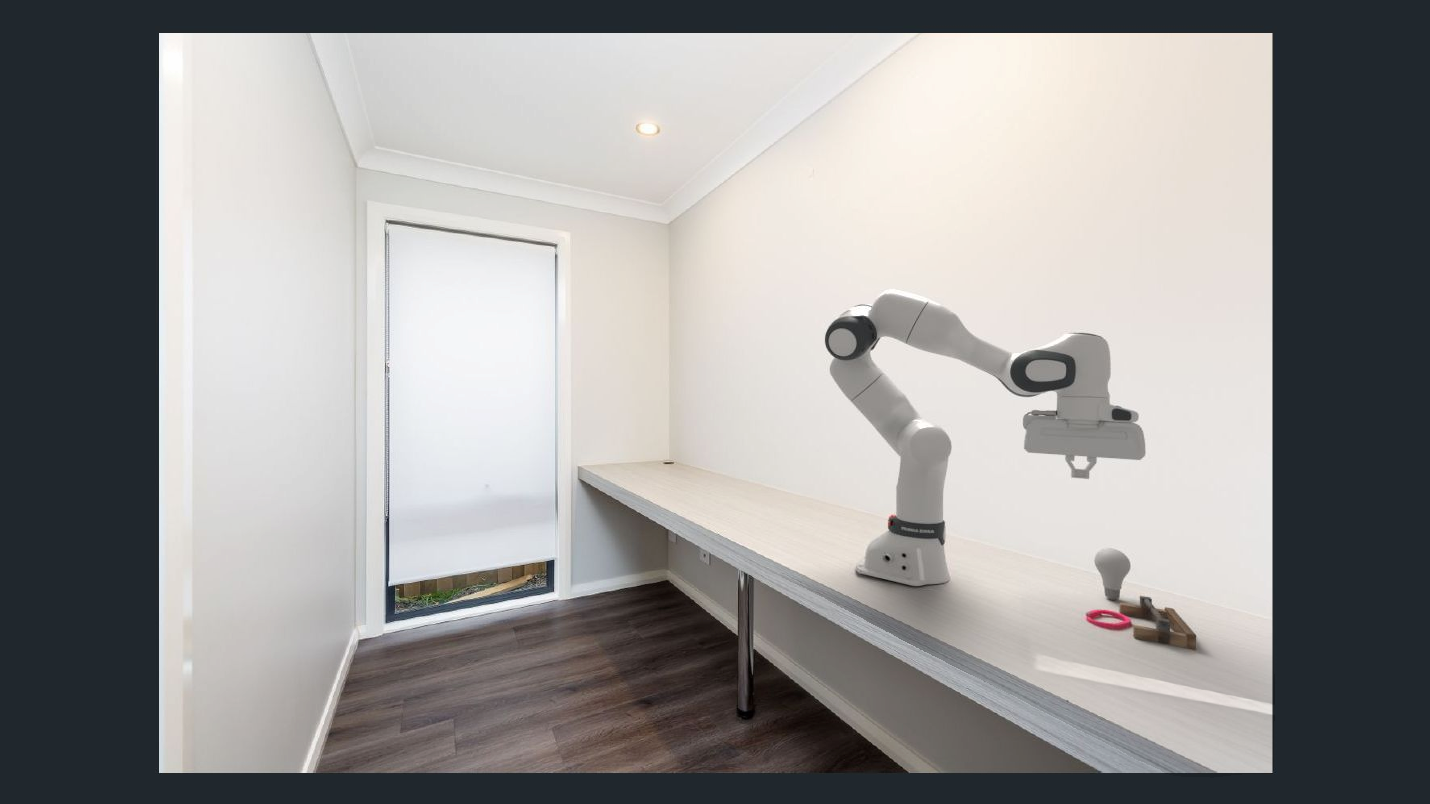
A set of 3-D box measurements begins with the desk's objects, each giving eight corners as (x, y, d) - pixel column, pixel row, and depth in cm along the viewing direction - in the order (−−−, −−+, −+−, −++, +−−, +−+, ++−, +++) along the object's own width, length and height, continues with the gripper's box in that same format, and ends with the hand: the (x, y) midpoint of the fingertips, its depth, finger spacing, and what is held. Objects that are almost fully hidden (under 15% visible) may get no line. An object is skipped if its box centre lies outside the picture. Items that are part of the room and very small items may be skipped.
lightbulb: (1137, 606, 104) (1137, 553, 104) (1104, 604, 105) (1104, 552, 105) (1119, 595, 110) (1119, 545, 110) (1088, 593, 111) (1088, 544, 111)
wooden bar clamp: (1134, 638, 90) (1135, 616, 90) (1119, 612, 101) (1119, 592, 101) (1196, 649, 86) (1196, 626, 86) (1172, 621, 97) (1172, 600, 97)
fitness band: (1104, 614, 101) (1104, 606, 101) (1137, 626, 96) (1137, 618, 96) (1079, 621, 98) (1079, 613, 98) (1113, 633, 93) (1113, 625, 93)
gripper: (1023, 409, 106) (1021, 474, 106) (1149, 413, 96) (1146, 485, 96) (1022, 409, 111) (1020, 471, 111) (1141, 413, 101) (1138, 481, 101)
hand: (1079, 478), depth 104 cm, fingers closed
